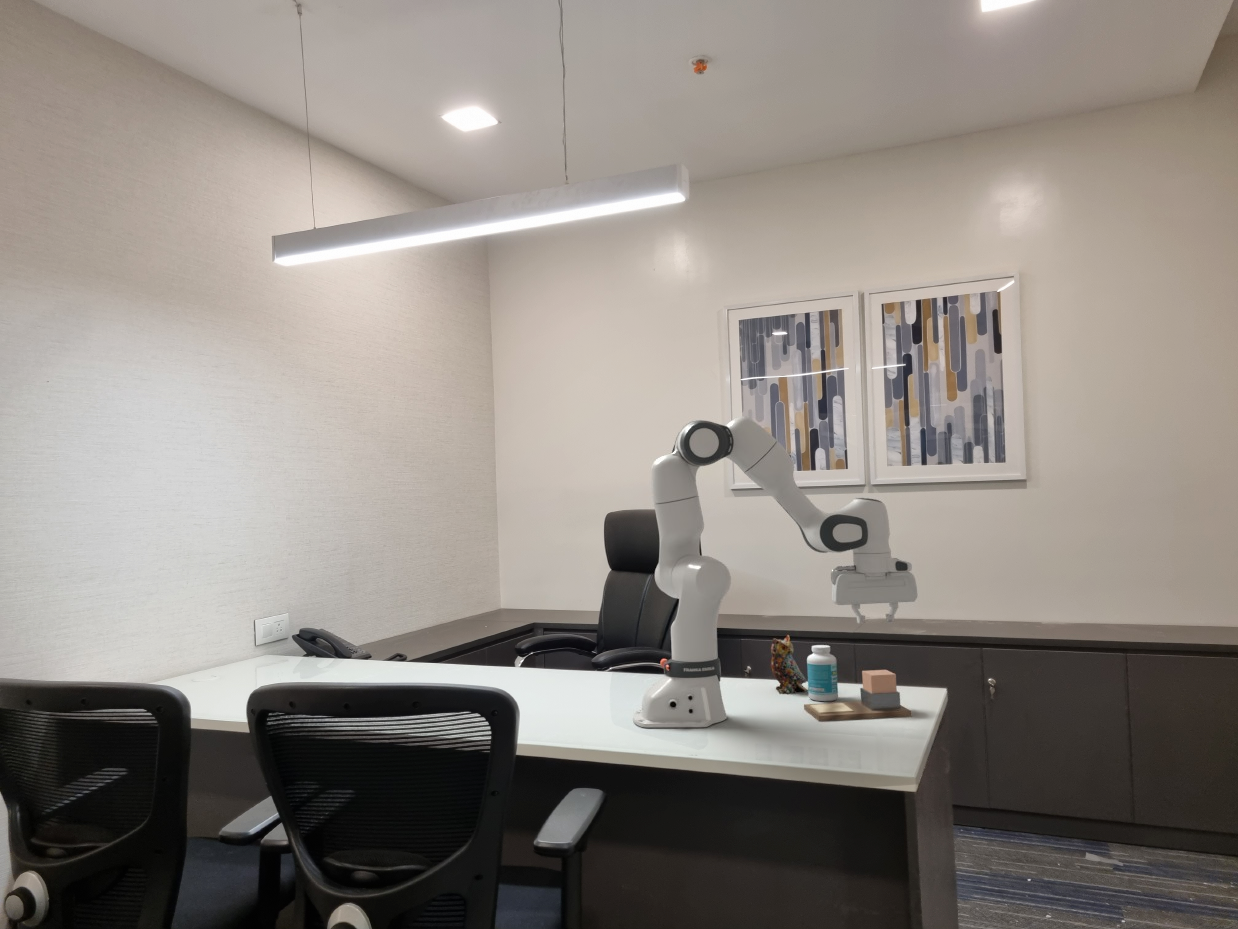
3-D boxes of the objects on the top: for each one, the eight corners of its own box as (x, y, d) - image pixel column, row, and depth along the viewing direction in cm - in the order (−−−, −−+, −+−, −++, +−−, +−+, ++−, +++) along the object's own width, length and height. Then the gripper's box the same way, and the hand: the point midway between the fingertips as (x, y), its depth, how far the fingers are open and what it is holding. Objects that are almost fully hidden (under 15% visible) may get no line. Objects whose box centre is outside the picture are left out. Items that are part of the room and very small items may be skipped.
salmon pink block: (872, 693, 197) (871, 675, 197) (863, 688, 203) (862, 671, 203) (896, 692, 197) (895, 674, 197) (887, 687, 203) (886, 669, 203)
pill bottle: (839, 702, 211) (836, 648, 211) (809, 702, 212) (806, 648, 213) (837, 696, 218) (834, 643, 219) (808, 695, 219) (805, 644, 220)
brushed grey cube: (871, 710, 196) (870, 683, 196) (861, 703, 203) (859, 677, 203) (900, 708, 196) (899, 681, 197) (889, 702, 203) (887, 675, 204)
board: (818, 721, 193) (818, 714, 193) (804, 709, 205) (803, 703, 205) (911, 716, 194) (911, 709, 194) (891, 704, 206) (891, 698, 206)
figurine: (802, 695, 220) (799, 638, 221) (768, 693, 224) (766, 637, 225) (809, 689, 228) (806, 633, 228) (777, 687, 231) (774, 632, 232)
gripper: (834, 567, 198) (837, 626, 197) (918, 563, 199) (921, 621, 198) (826, 565, 204) (829, 622, 203) (907, 562, 206) (910, 618, 205)
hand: (875, 622), depth 201 cm, fingers open, 6 cm apart
